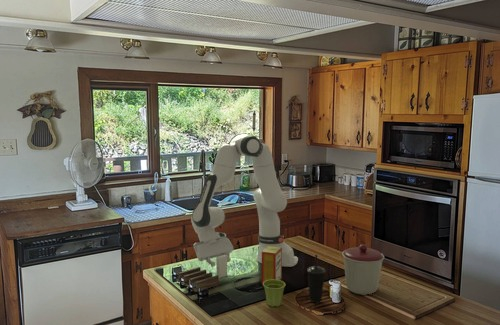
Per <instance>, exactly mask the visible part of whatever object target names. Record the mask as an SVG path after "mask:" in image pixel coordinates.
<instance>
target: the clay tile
mask: <svg viewBox="0 0 500 325" xmlns="http://www.w3.org/2000/svg"><path fill="white" fill-rule="evenodd" d="M215 259H216V260H215V266H216V275H218V276H219V279H220V278H224V277H226V276H228V262H227V255H222V256H218V257H215Z"/></svg>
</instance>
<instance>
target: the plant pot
mask: <svg viewBox="0 0 500 325" xmlns="http://www.w3.org/2000/svg"><path fill="white" fill-rule="evenodd" d="M262 286H263V288H264V293H265V300H266V305H267V306H268V307H272V308H273V307H279V306H281V305H282V302H283V301H282V300H283V295H284V290H285V287H286V286H287V285H286V283H285V282H284V281H283V280H282V279H281V280H266V281H264V282H263V284H262Z"/></svg>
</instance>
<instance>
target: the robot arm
mask: <svg viewBox="0 0 500 325" xmlns="http://www.w3.org/2000/svg"><path fill="white" fill-rule="evenodd" d="M272 155H273V154H272V151H271V149H270V147H269V145H268V144H266V143H263V142H261V140H260V139H259V138H258V137H257V136H255V135H252V134H249V133H248V134H247V133H243V134H236V135H233V136H232V137H231V138H230V140H229V141H228V143H224V144H222V145H220V146H219V148H218V150H217V153H216V156H215V159H214V163H213V167H212V170H211V171H210V173H209V174H208V176H207V177H206V179H205V181H204V184H203V186H202V189H201V192H200V194H199V198H198V200H197V203H196V205H195V207H194V209H193V210H192V214H191V216H190V220H191V221H190V222H191V224H192V228H193V230H194V231H195V233H196V234H197V237H198V240H199V241H198V242H195V243H194V244H193V246H192V247H193V250H194V251H195V254H196V257H197V258H196V259H197V260H198V261H199V262H203V261H205V262H207V264H209V265H210V267H211V268H213V267H215V266H216V261H212V260H211V259H214V258H215V259H216V257H218V256H222V255H227V263H230V262H231V259H232V258H230V257H231V256H230V254H231V253H232V252H233V251H234V246H233V244H232V242H231V240H230V238H228V237H227V234H226V233H225V232H220V231H219V232H218V231H215V228H218V227H219V226H221V225H222V224H223V223H224V222H225V220H226V214H225V211H224V210H223V208H221V207H219V206H211V203H212V199H213V198H214V194H215V192H216V190H217V189H218V188H219V187H221V186H223V185H226V184H228V183H230V182H231V181H232V180H233V178H234V175H235V174H236V168H237V162H238V160H239V158H241V157H250V159H251V163H252V164H251V165H252V169H253V173H254V179H255V183H256V184H257V185H258V188H256V189H255V190H254V192H253V200H254V202H255V205H256V211H257V214H258V215H257V216H258V221H259V222H258V225H259V226H258V227H259V228H258V229H259V230H258V231H259V232H258V237H257V239H258V240H257V243H258V251H257V254H256V255H257V256H256V259H255V261H257V263H260V264H262V251H263V250H264V249H266V248H267V247H268V246H274V247H282V267H289V268H290V267H295V266H296V265H297V264H298V263H299V257H297V256H295V254H294V253H295V252H294V249H293V247H291V246H290V245H288V244H287V243H286V242H285V241H284V237H285V235H282V234H281V231H280V230H281V229H280V228H281V220H280V217H279V214H278V213H279V212H280V213H281V212H282V211H284V210H285V209H286V208H287V205H288V199H287V197H286V195H285V194H284V192H283V190H282V188H281V186H280V183H279V180H278V178H277V175H276V168H275V163H274V158H273V156H272Z"/></svg>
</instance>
